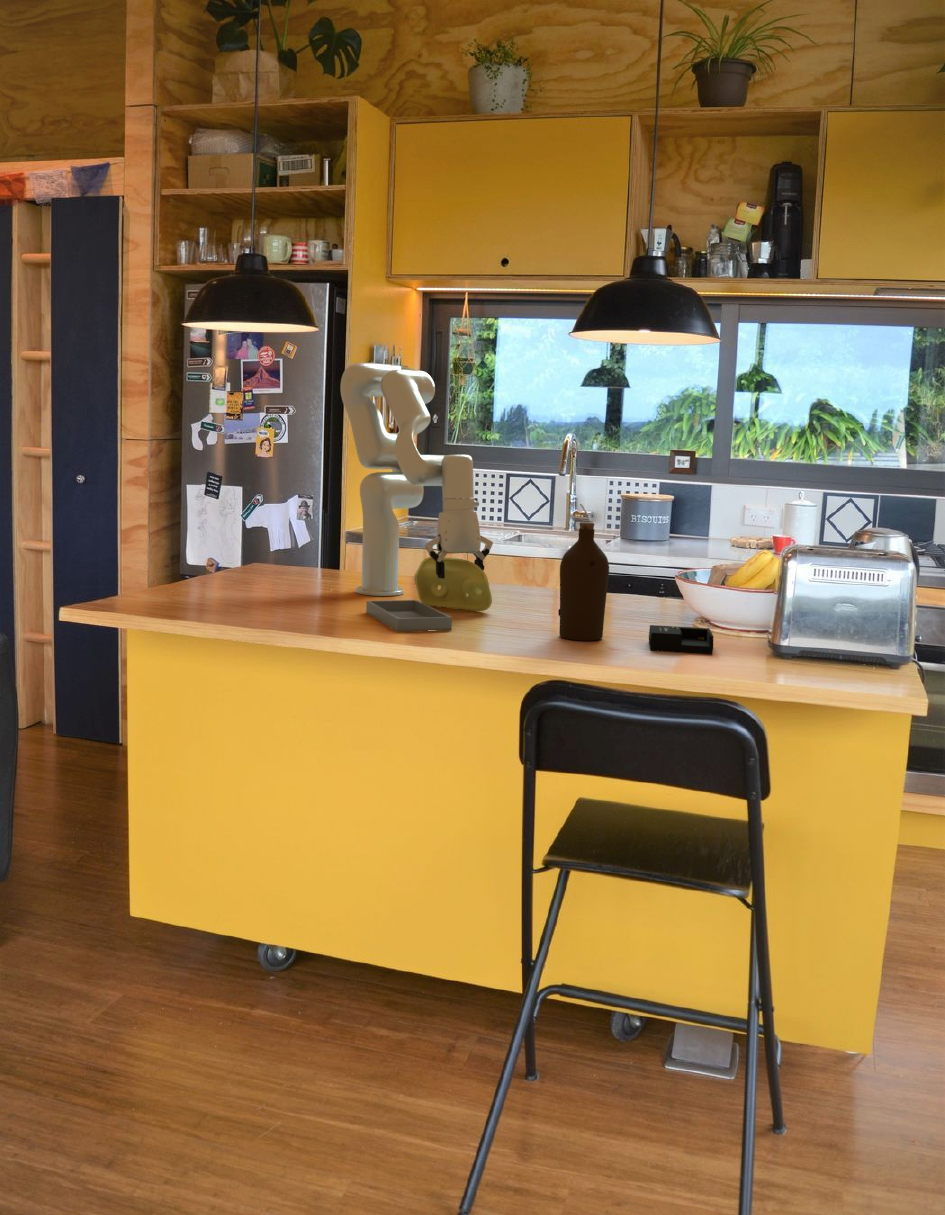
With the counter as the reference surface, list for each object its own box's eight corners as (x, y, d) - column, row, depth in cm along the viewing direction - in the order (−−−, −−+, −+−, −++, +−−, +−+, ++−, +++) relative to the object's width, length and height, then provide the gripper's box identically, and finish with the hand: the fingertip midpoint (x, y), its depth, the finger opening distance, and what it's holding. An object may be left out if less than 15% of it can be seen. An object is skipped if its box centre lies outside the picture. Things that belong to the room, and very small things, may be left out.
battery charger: (649, 651, 237) (651, 632, 236) (648, 642, 246) (649, 624, 246) (712, 655, 236) (714, 636, 235) (708, 646, 245) (710, 628, 244)
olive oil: (615, 638, 248) (621, 524, 244) (583, 643, 241) (589, 525, 237) (578, 630, 255) (584, 519, 251) (546, 635, 248) (552, 521, 244)
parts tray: (366, 613, 267) (366, 600, 267) (416, 612, 272) (416, 599, 271) (397, 632, 245) (397, 618, 244) (451, 630, 249) (451, 617, 249)
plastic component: (420, 605, 282) (412, 573, 276) (432, 587, 288) (424, 555, 281) (494, 613, 275) (488, 580, 269) (505, 594, 280) (498, 562, 274)
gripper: (485, 505, 280) (487, 574, 282) (419, 507, 274) (421, 578, 275) (497, 505, 273) (498, 576, 275) (429, 507, 267) (431, 579, 268)
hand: (459, 577), depth 275 cm, fingers open, 9 cm apart
